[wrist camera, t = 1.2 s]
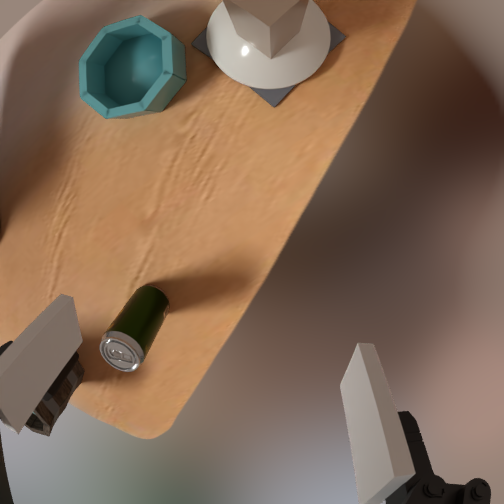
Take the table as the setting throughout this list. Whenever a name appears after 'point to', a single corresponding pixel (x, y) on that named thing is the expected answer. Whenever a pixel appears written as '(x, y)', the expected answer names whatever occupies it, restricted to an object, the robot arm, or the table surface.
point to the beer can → (135, 328)
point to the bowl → (131, 69)
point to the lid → (268, 41)
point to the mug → (56, 397)
